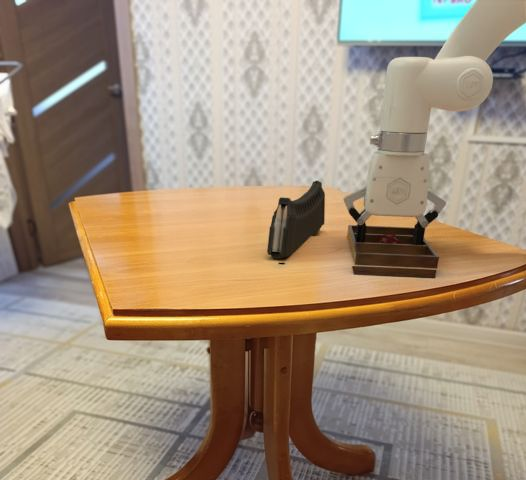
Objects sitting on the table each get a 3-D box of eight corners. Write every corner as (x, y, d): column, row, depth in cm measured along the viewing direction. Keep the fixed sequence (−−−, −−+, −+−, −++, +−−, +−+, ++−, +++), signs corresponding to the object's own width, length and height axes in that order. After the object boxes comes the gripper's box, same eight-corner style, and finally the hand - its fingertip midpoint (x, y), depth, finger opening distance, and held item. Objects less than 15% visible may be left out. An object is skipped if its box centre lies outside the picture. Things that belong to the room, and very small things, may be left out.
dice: (370, 255, 92) (373, 233, 90) (387, 251, 94) (390, 229, 92) (387, 260, 89) (390, 237, 87) (403, 256, 92) (406, 234, 90)
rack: (413, 245, 100) (416, 227, 99) (435, 278, 83) (439, 256, 81) (346, 243, 101) (348, 224, 100) (353, 274, 84) (356, 253, 82)
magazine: (314, 184, 109) (277, 154, 81) (329, 185, 108) (296, 155, 80) (304, 264, 112) (264, 262, 84) (318, 266, 111) (283, 265, 83)
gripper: (350, 144, 80) (340, 250, 88) (461, 147, 79) (442, 255, 87) (347, 140, 87) (338, 239, 95) (450, 143, 86) (432, 243, 94)
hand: (388, 246), depth 91 cm, fingers open, 9 cm apart
